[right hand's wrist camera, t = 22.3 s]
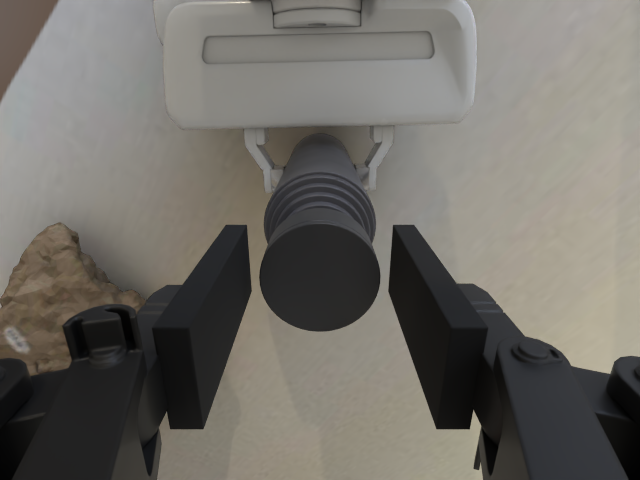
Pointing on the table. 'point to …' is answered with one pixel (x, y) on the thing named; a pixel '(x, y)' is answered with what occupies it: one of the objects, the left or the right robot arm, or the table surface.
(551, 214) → the table surface
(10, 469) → the right robot arm
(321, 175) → the bottle
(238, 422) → the table surface
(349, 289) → the cap
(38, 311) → the stone
